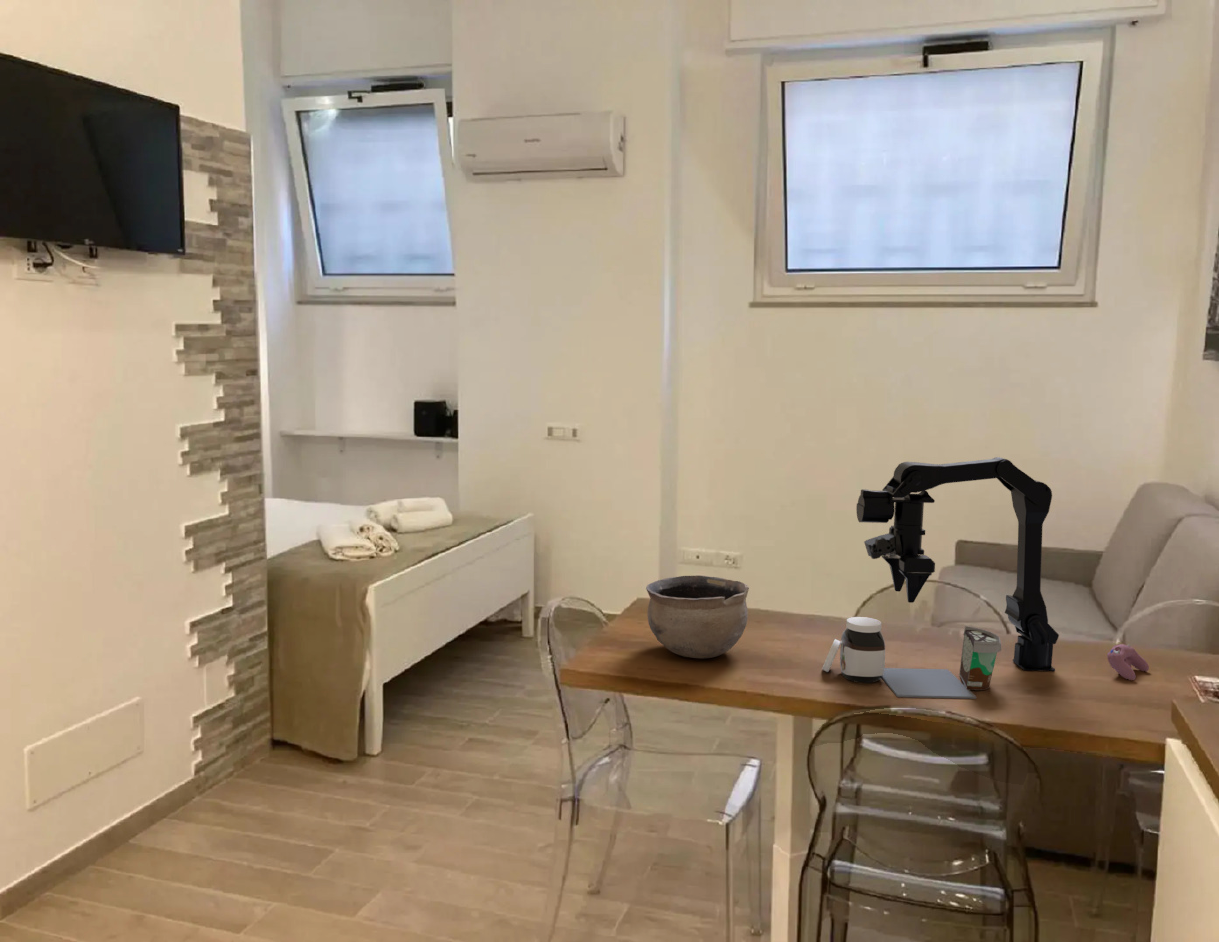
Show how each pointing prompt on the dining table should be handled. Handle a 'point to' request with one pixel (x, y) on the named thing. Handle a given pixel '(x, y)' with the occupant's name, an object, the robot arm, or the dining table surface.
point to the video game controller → (1126, 661)
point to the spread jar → (860, 651)
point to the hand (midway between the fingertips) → (904, 596)
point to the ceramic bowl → (697, 614)
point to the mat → (925, 683)
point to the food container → (978, 657)
